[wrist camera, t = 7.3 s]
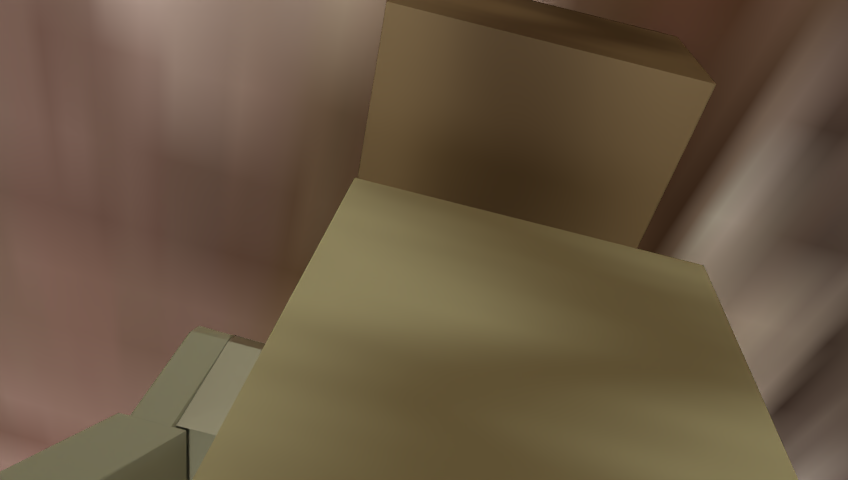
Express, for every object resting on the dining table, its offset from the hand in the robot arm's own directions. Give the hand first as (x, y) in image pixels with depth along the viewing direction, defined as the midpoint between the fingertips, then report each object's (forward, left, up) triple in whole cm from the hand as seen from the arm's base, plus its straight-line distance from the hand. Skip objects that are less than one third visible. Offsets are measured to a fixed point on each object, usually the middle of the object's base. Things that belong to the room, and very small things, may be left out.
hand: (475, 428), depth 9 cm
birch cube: (0, 0, -2) cm, 2 cm away
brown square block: (0, 0, -11) cm, 11 cm away
